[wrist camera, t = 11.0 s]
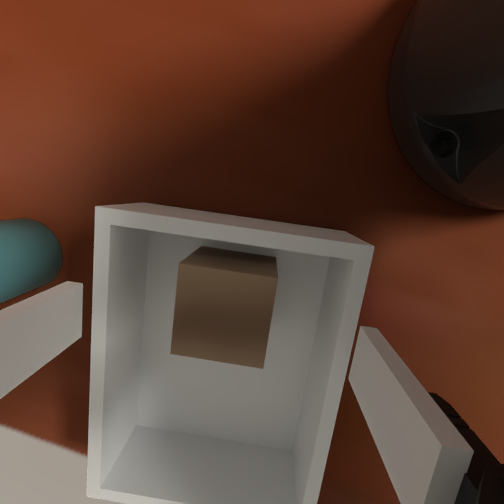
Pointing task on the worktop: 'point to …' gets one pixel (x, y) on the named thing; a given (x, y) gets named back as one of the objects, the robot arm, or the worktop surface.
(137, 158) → the worktop surface
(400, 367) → the robot arm
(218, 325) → the walnut cube
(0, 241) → the teal cylinder
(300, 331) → the grey tote
